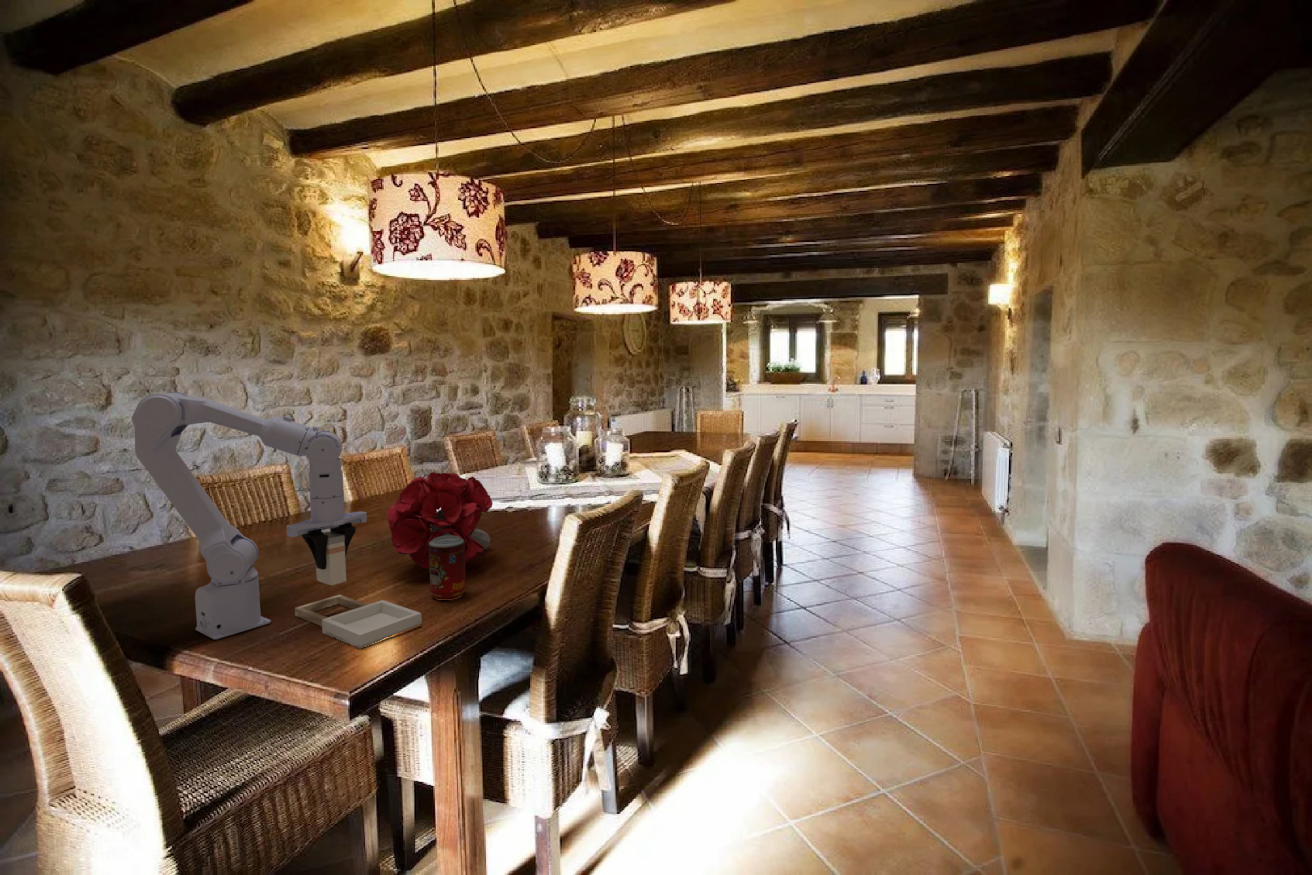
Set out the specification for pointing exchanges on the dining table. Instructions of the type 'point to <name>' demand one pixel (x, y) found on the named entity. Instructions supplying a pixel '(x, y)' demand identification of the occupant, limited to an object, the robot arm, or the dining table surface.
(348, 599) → the frame
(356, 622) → the tray
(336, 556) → the block
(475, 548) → the bouquet
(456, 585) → the soda can
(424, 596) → the dining table surface
